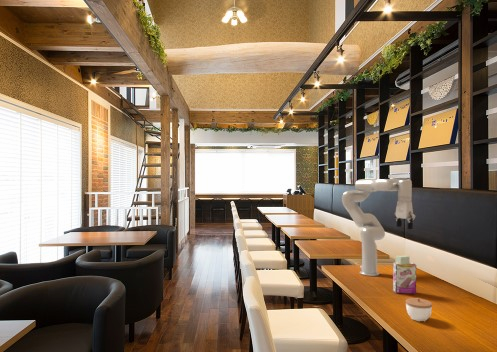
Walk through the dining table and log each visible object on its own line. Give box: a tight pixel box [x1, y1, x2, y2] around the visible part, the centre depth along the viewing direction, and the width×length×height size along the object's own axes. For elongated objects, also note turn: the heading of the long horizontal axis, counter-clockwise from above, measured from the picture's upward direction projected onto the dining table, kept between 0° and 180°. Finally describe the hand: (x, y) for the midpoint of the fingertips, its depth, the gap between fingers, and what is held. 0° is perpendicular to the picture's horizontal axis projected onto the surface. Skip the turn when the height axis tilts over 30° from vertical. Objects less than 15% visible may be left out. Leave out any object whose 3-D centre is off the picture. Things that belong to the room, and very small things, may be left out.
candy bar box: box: [392, 261, 417, 295], centre depth 195 cm, size 11×5×16 cm, turn 84°
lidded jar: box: [405, 297, 433, 322], centre depth 157 cm, size 11×11×9 cm
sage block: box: [395, 254, 411, 265], centre depth 195 cm, size 4×4×6 cm
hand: (404, 227), depth 213 cm, fingers open, 9 cm apart
